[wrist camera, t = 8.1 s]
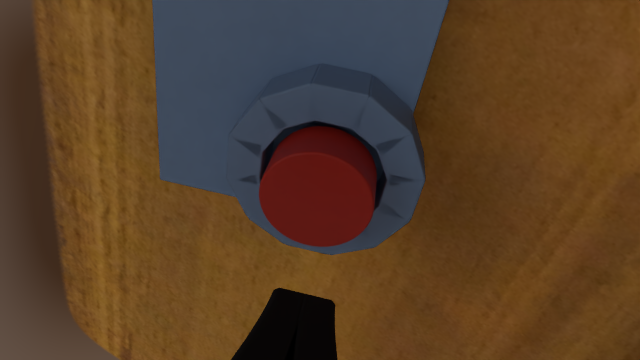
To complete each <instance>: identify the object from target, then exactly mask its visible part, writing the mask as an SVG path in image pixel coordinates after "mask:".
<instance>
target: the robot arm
mask: <svg viewBox="0 0 640 360" xmlns="http://www.w3.org/2000/svg"><path fill="white" fill-rule="evenodd" d="M231 360H337V351H336V340H335V304H334V303H333V301H332V300H329V299H324V298H320V297H316V296H312V295H308V294H303V293H299V292H295V291H291V290H287V289H283V288H277V289H275V290H274V291H273V293H272V295H271V297H270V299H269V301H268V303H267V305H266V307H265V309H264V311H263V312H262V314H261V316H260V317H259V319H258V321H257V322H256V324H255V325H254V327H253V329H252V330H251V332H250V333H249V335H248V336H247V338H246V339H245V341H244V342H243V343H242V345H241V346H240V348H239V349H238V350H237V352H236V353H235V355H234V356H233V358H232V359H231Z"/></svg>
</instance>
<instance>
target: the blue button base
mask: <svg viewBox="0 0 640 360" xmlns="http://www.w3.org/2000/svg"><path fill="white" fill-rule="evenodd" d="M448 3H449V0H153V22H154V45H155V69H156V92H157V115H158V138H159V162H160V179H161V180H165V181H169V182H173V183H178V184H182V185H186V186H191V187H195V188H199V189H204V190H208V191H212V192H217V193H221V194H226V195H230V196H234V197H237V199H238V201H239V203H240V205H241V206H242V208H243V210H244V212H245V214H246V216H248V218H249V219H250V220H251V221H253V222H254V223H256V224H257V225H258V226H260V227H261V228H263V229H264V230H265V231H267V232H268V233H269V234H271V235H272V236H274V237H275V238H276V239H278V240H279V241H281V242H282V243H284V244H286V245H290V246H294V247H298V248H302V249H307V250H311V251H315V252H320V253H324V254H330V255H334V254H340V253H346V252H352V251H357V250H363V249H369V248H374V247H376V246H377V245H379V244H380V243H381V242H383V241H384V240H385V239H387V238H388V237H390V236H391V235H392V234H394V233H395V232H396V231H398V230H399V229H400V228H402V227H403V226H404V225H406V224H407V223H408V222H409V221H410V220H411V218H412V216H413V213H414V210H415V207H416V205H417V202H418V199H419V197H420V194H421V191H422V188H423V186H424V183H425V165H424V152H423V148H422V145H421V141H420V137H419V134H418V130H417V127H416V123H415V120H414V116H413V113H414V110H415V107H416V104H417V101H418V97H419V94H420V91H421V88H422V85H423V82H424V78H425V75H426V72H427V69H428V66H429V63H430V59H431V56H432V53H433V50H434V47H435V44H436V41H437V37H438V34H439V31H440V28H441V25H442V22H443V18H444V15H445V12H446V9H447V6H448ZM313 126H326V127H333V128H336V129H340V130H342V131H345V132H347V133H349V134H350V135H352V136H354V137H355V138H357V139H358V140H359V141H360V142H361V143H362V144H363V145H364V146H365V147H366V148H367V149H368V151H369V152H370V154H371V155H372V157H373V160H374V162H375V166H376V171H377V182H376V194H375V205H374V212H373V216H372V218H371V221H370V223H369V224H368V226H367V227H366V228H365V230H364V231H363V232H362V233H361V234H359V235H358V236H357V237H355V238H354V239H352V240H350V241H348V242H346V243H343V244H340V245H336V246H330V247H316V246H309V245H305V244H301V243H298V242H296V241H293V240H291V239H289V238H287V237H286V236H284V235H283V234H281V233H280V232H279V231H278V230H276V229H275V228H274V227H273V226H272V225H271V223H270V222H269V221H268V220H267V218H266V216H265V215H264V213H263V210H262V208H261V205H260V200H259V186H260V182H261V179H262V177H263V175H264V173H265V170H266V168H267V166H268V164H269V162H270V160H271V158H272V156H273V154H274V151H275V150H276V148H277V146H278V145H279V144H280V142H281V141H282V140H283V139H284V138H286V137H287V136H288V135H290V134H291V133H293V132H295V131H297V130H300V129H303V128H307V127H313Z"/></svg>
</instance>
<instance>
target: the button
mask: <svg viewBox="0 0 640 360" xmlns="http://www.w3.org/2000/svg"><path fill="white" fill-rule="evenodd" d="M376 182H377V171H376V166H375V162H374V160H373V157H372V155H371V154H370V152H369V151H368V149H367V148H366V147H365V146H364V145H363V144H362V143H361V142H360V141H359V140H358V139H357V138H355V137H354V136H352V135H350V134H349V133H347V132H345V131H342V130H340V129H336V128H333V127H326V126H313V127H307V128H303V129H300V130H297V131H295V132H293V133H291V134H290V135H288V136H287V137H286V138H284V139H283V140H282V141H281V142H280V144H279V145H278V146H277V148H276V150H275V151H274V154H273V156H272V158H271V160H270V162H269V164H268V166H267V168H266V170H265V173H264V175H263V177H262V179H261V182H260V186H259V200H260V205H261V208H262V210H263V213H264V215H265V216H266V218H267V220H268V221H269V222H270V223H271V225H272V226H273V227H274V228H275V229H276V230H278V231H279V232H280V233H281V234H283V235H284V236H286V237H287V238H289V239H291V240H293V241H296V242H298V243H301V244H305V245H309V246H316V247H330V246H336V245H340V244H343V243H346V242H348V241H350V240H352V239H354V238H355V237H357V236H358V235H359V234H361V233H362V232H363V231H364V230H365V228H366V227H367V226H368V224H369V223H370V221H371V218H372V216H373V212H374V205H375V194H376Z"/></svg>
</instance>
